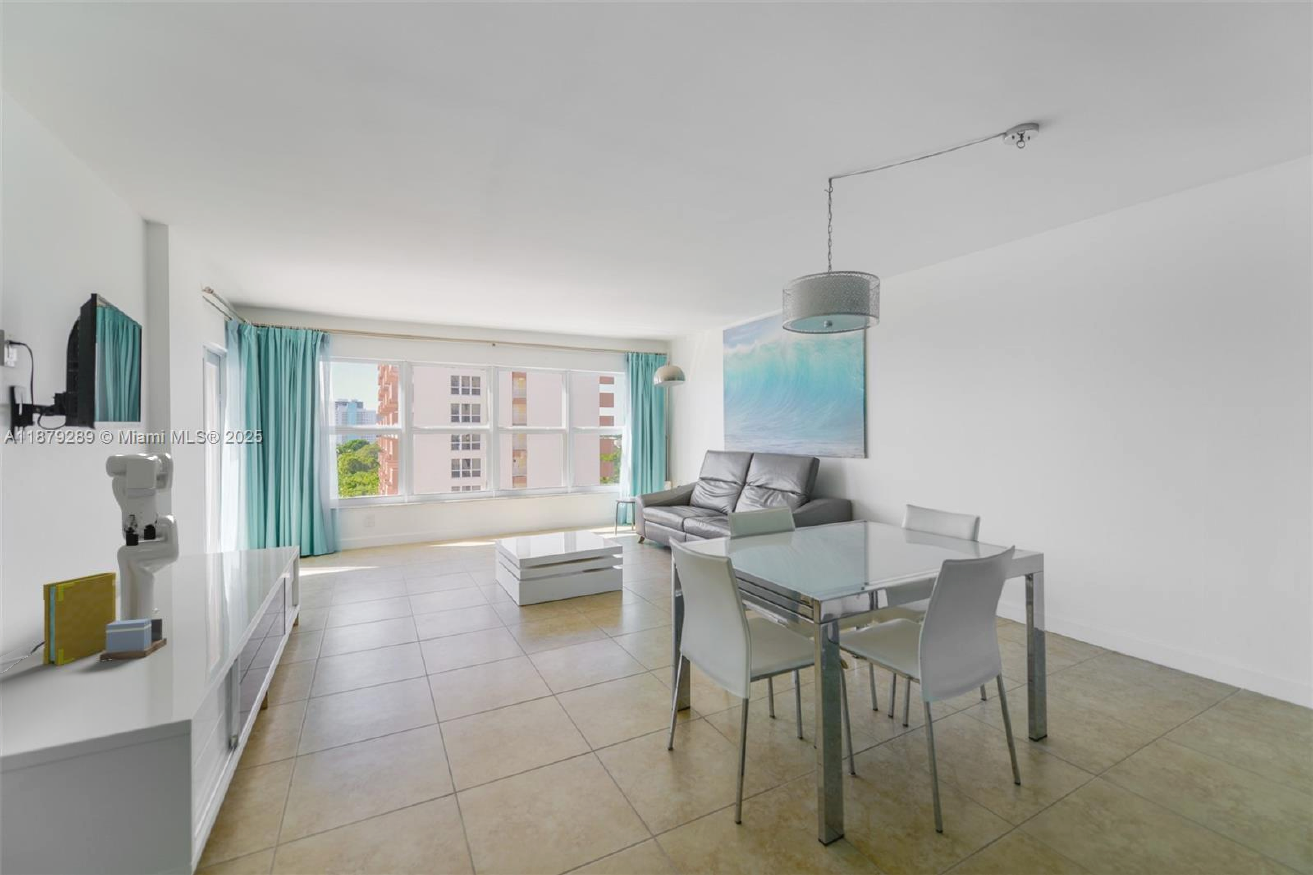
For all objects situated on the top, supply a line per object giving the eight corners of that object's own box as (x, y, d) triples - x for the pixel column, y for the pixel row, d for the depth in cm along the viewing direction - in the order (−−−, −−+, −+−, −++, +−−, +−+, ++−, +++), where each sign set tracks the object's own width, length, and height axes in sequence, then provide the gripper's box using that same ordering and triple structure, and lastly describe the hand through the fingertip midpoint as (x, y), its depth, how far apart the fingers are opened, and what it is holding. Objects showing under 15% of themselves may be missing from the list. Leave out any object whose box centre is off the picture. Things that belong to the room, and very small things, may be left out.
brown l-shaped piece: (123, 647, 188) (123, 621, 188) (166, 643, 192) (166, 617, 192) (100, 661, 177) (100, 633, 177) (146, 656, 180) (145, 629, 180)
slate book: (114, 648, 182) (114, 621, 182) (151, 645, 185) (151, 618, 185) (106, 653, 178) (106, 625, 178) (144, 649, 181) (144, 622, 181)
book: (59, 665, 174) (59, 585, 174) (43, 663, 175) (43, 584, 175) (121, 645, 190) (121, 572, 190) (106, 644, 192) (106, 572, 192)
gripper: (143, 490, 197) (143, 538, 197) (110, 496, 180) (110, 548, 180) (168, 489, 199) (168, 537, 199) (138, 496, 182) (138, 547, 183)
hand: (141, 542), depth 190 cm, fingers open, 9 cm apart
